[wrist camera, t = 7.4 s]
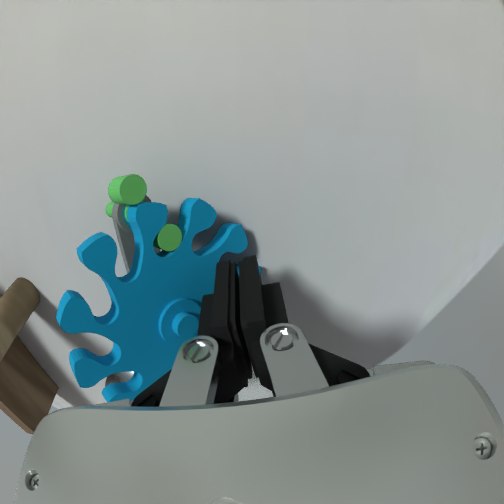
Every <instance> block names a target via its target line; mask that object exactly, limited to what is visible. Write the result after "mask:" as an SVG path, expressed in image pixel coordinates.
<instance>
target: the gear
mask: <svg viewBox="0 0 504 504" xmlns="http://www.w3.org/2000/svg"><path fill="white" fill-rule="evenodd" d="M146 191H147V186H146V183H145V181H144V179H143V178H142V177H140V176H139V175H134V174H132V175H127V176H121V177H117V178H115V179H114V180H112V182H111V183H110V185H109V188H108V194H109V197H110V199H111V200H112V201H113V202H111V203H109V204H108V205H107V206H106V214H107V215H108V216H109V217H112V218H113V222H114V226H115V230H116V234H117V238H118V242H119V245H120V249H121V253H122V256H123V260H124V263H125V267H126V270H127V273H128V274H127V275H125V276H123V277H116V275H115V263H116V258H117V246H116V243H115V241H114V240H113V239H112V237H110V236H109V235H107V234H105V233H102V232H100V233H97V234H94V235H93V236H91V237H89V238H88V239H87V240H85V241H84V242H83V243H82V244H81V245H80V246H79V247H78V248H77V254H78V257H79V259H80V261H81V262H82V263H83V264H84V265H85V266H86V267H87V268H88V269H90V270H91V271H93V272H95V273H97V274H98V275H99V276H100V277H101V278H102V280H103V281H104V283H105V285H106V287H107V289H108V292H109V295H110V297H111V301H112V305H111V309H110V311H109V312H108V313H107V314H106V315H104V316H101V317H96V316H94V315H93V314H92V312H91V309H90V307H89V305H88V304H87V303H86V301H85V300H84V299H83V297H82V296H81V295H80V294H79V293H78V292H75V291H72V290H67V291H66V292H65V294H64V295H63V297H62V298H61V300H60V303H59V306H58V310H57V315H56V319H57V321H58V323H59V326H60V327H61V328H62V329H63V330H64V331H66V332H68V333H72V334H76V333H82V332H90V333H96V334H99V335H102V336H104V337H106V338H108V339H110V340H111V341H113V342H114V346H113V349H112V351H111V352H110V353H109V354H108V355H106V356H97V355H95V354H93V353H92V352H90V351H88V350H86V349H83V348H78V349H74V350H72V351H71V352H70V356H69V359H70V365H71V368H72V371H73V373H74V376H75V378H76V380H77V382H78V384H79V386H80V387H82V388H89V387H92V386H94V385H95V384H97V383H98V382H99V381H100V380H102V379H103V378H105V377H107V376H109V375H111V374H115V373H119V372H132V371H134V374H133V376H132V378H131V379H130V380H128V381H126V382H121V383H112V384H109V385H107V386H106V387H105V388H104V389H103V391H102V395H103V396H104V398H105V399H106V401H107V403H108V402H113V401H119V400H124V399H130V400H131V401H133V400H134V398H135V397H136V396H137V395H138V394H140V393H141V392H142V391H144V390H145V389H146V388H148V387H149V386H150V385H151V384H153V383H154V382H155V381H157V380H158V379H159V378H161V377H162V376H163V375H164V374H166V373H167V372H168V371H170V370H171V369H172V368H173V365H174V362H175V359H176V357H177V354H178V351H179V349H180V347H181V345H182V344H183V343H184V342H185V341H187V340H189V339H190V338H193V337H196V336H197V334H198V326H199V319H200V311H201V304H202V298H203V295H207V294H213V293H214V283H215V273H216V264H217V262H219V260H220V257H221V256H222V255H223V254H224V253H226V252H233V253H241V252H243V251H244V250H245V249H246V248H247V246H248V241H247V237H246V234H245V231H244V229H243V227H242V225H240V224H233V223H225V224H223V225H222V226H221V227H220V228H219V230H218V232H217V234H216V235H215V237H214V238H213V240H212V241H211V242H210V243H209V244H208V245H206V246H205V247H203V248H201V249H200V250H197V251H195V252H193V250H192V240H193V238H194V236H195V235H196V234H197V233H199V232H201V231H203V230H206V229H208V228H210V227H211V226H212V225H213V223H214V222H215V220H216V216H217V213H216V211H215V210H214V208H213V207H212V206H211V205H209V204H208V203H206V202H205V201H203V200H201V199H200V198H187V199H186V200H185V201H184V202H183V203H182V205H181V207H180V214H179V221H178V226H176V225H174V224H169V223H166V221H167V217H168V211H167V207H166V205H164V204H161V203H155V202H151V200H150V199H149V198H148V197H147V196H146ZM160 249H162V251H161V252H160ZM258 267H259V273H260V278H261V267H260V266H258ZM237 271H238V275H239V265H238V266H237Z"/></svg>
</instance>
